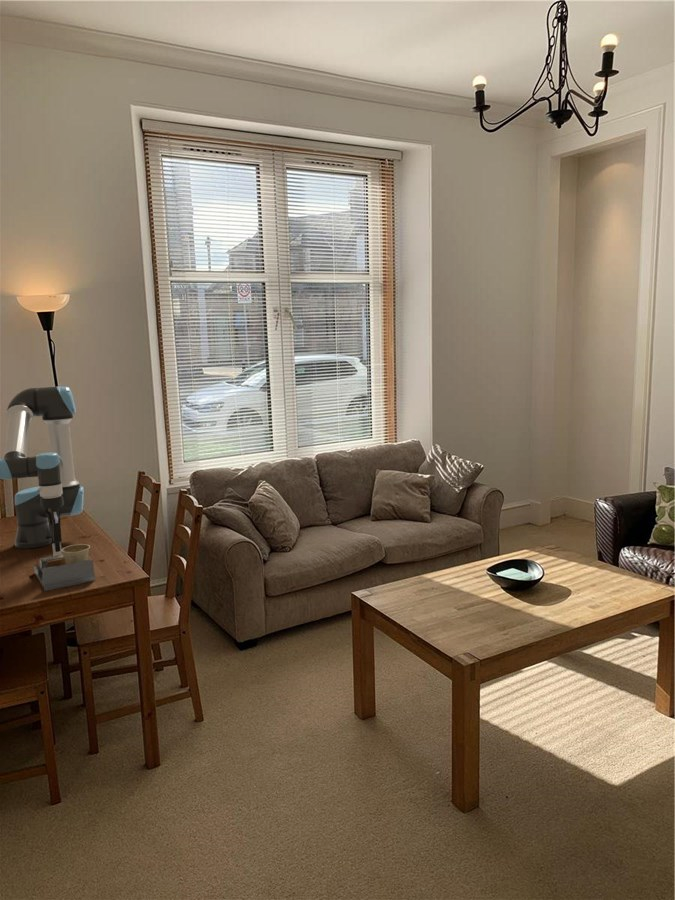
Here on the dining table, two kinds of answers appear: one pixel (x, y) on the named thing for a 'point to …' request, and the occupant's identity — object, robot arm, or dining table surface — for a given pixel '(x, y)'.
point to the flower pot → (76, 553)
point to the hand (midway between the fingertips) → (58, 559)
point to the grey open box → (65, 574)
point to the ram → (52, 561)
